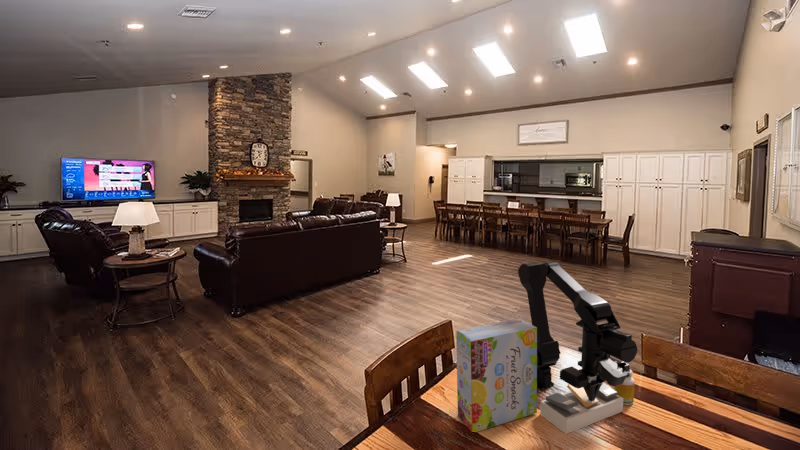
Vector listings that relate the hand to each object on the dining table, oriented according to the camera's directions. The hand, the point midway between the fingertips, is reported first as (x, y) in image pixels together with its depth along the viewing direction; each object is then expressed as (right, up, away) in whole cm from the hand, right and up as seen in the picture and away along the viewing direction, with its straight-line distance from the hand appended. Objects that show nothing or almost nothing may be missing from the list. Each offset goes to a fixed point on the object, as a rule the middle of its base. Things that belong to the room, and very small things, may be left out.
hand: (591, 400), depth 102 cm
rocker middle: (-1, +1, +3) cm, 3 cm away
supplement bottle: (+14, -4, +9) cm, 17 cm away
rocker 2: (+6, +1, +6) cm, 8 cm away
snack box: (-25, -6, +3) cm, 26 cm away
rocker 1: (-9, 0, -1) cm, 9 cm away
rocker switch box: (-1, -5, +3) cm, 6 cm away
